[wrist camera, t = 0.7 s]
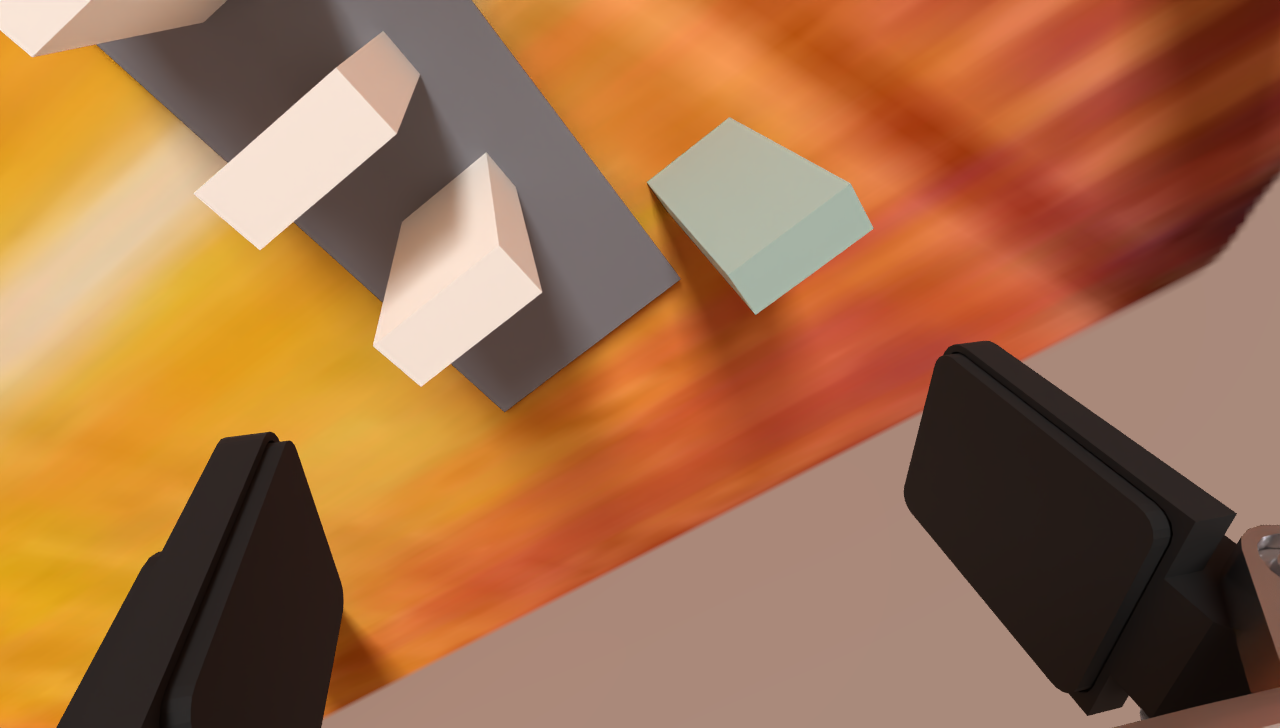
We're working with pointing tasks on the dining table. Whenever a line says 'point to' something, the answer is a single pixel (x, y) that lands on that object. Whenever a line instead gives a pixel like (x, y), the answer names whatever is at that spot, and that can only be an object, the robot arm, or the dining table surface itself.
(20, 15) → the domino
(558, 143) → the rubber mat
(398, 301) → the domino
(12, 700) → the dining table surface
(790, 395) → the dining table surface
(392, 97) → the domino
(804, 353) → the dining table surface
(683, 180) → the domino
